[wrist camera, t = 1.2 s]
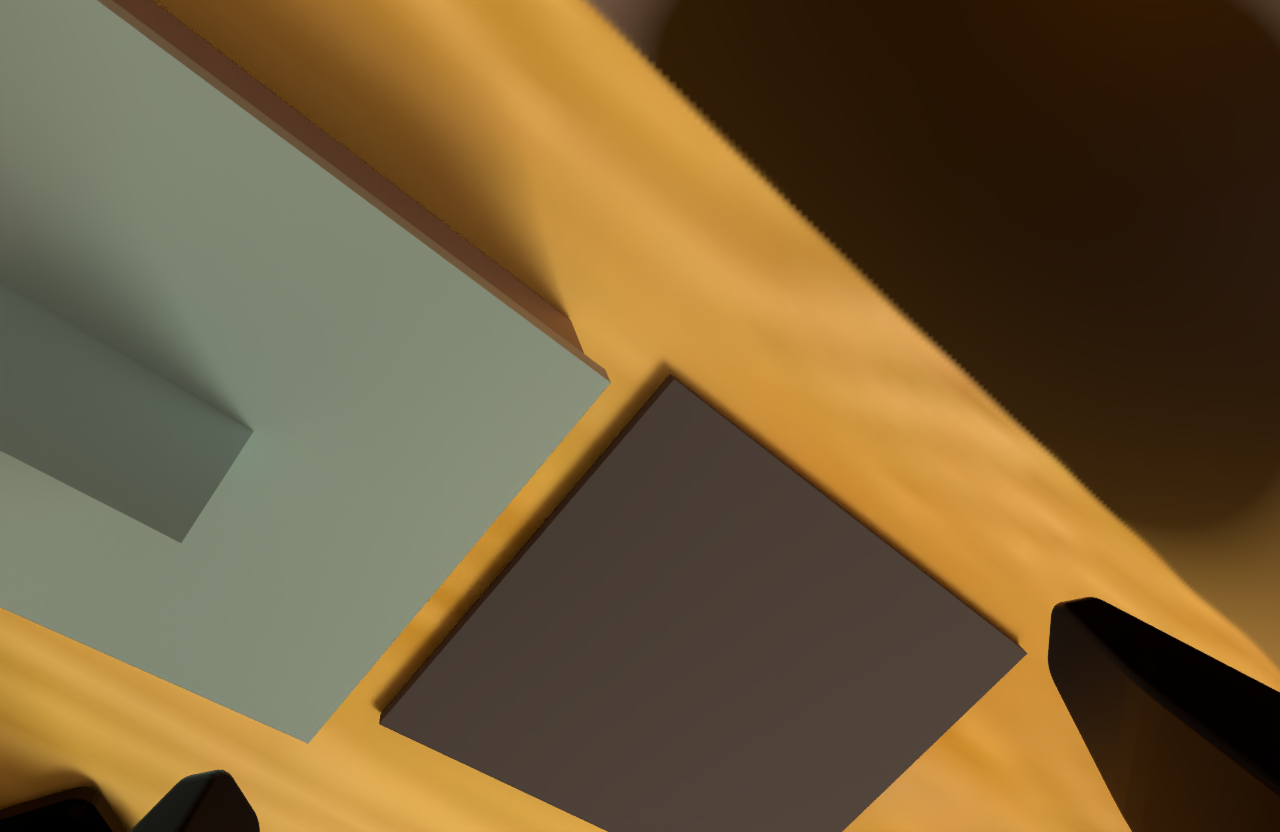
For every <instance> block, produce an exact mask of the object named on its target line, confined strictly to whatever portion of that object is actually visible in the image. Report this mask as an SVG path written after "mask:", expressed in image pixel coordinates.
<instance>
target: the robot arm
mask: <svg viewBox="0 0 1280 832" xmlns="http://www.w3.org/2000/svg"><path fill="white" fill-rule="evenodd" d="M1048 665H1049V669H1050V673H1051V676H1052V679H1053V681H1054V683H1055V685H1056V687H1057V689H1058V691H1059V693H1060V695H1061V697H1062V699H1063V701H1064V703H1065V705H1066V707H1067V709H1068V711H1069V713H1070V715H1071V717H1072V719H1073V721H1074V723H1075V724H1076V726H1077V728H1078V730H1079V732H1080V734H1081V736H1082V738H1083V740H1084V742H1085V744H1086V746H1087V748H1088V750H1089V752H1090V754H1091V756H1092V758H1093V760H1094V762H1095V764H1096V766H1097V768H1098V770H1099V772H1100V774H1101V776H1102V778H1103V780H1104V782H1105V783H1106V785H1107V787H1108V789H1109V791H1110V793H1111V795H1112V797H1113V799H1114V801H1115V803H1116V804H1117V806H1118V808H1119V810H1120V812H1121V814H1122V816H1123V817H1124V819H1125V821H1126V822H1127V824H1128V826H1129V827H1130V829H1131V831H1132V832H1280V692H1278V691H1276V690H1274V689H1272V688H1270V687H1268V686H1266V685H1264V684H1263V683H1261V682H1259V681H1257V680H1255V679H1253V678H1251V677H1249V676H1247V675H1245V674H1243V673H1241V672H1239V671H1238V670H1236V669H1234V668H1232V667H1230V666H1228V665H1226V664H1224V663H1222V662H1220V661H1218V660H1216V659H1214V658H1213V657H1211V656H1209V655H1207V654H1205V653H1203V652H1201V651H1199V650H1197V649H1195V648H1193V647H1191V646H1189V645H1188V644H1186V643H1184V642H1182V641H1180V640H1178V639H1176V638H1174V637H1172V636H1170V635H1168V634H1166V633H1165V632H1163V631H1161V630H1159V629H1157V628H1155V627H1153V626H1151V625H1149V624H1147V623H1145V622H1143V621H1141V620H1140V619H1138V618H1136V617H1134V616H1132V615H1130V614H1128V613H1126V612H1124V611H1122V610H1120V609H1118V608H1116V607H1115V606H1113V605H1111V604H1109V603H1107V602H1105V601H1103V600H1101V599H1098V598H1094V597H1085V598H1080V599H1075V600H1070V601H1065V602H1060V603H1058V604H1056V605H1055V606H1054V608H1053V610H1052V614H1051V624H1050V637H1049V649H1048ZM76 805H80V806H83V807H79V806H76ZM0 832H127V831H126V830H125V828H124V827H123V825H122V824H121V822H120V821H119V820H118V818H117V817H116V815H115V814H114V812H113V811H112V809H111V808H110V806H109V805H108V804H107V802H106V801H105V799H104V798H103V796H102V795H101V794H100V793H99V792H98V791H97V790H95V789H92V788H90V787H76V788H72V789H68V790H65V791H62V792H58V793H55V794H52V795H48V796H45V797H42V798H38V799H35V800H32V801H28V802H25V803H22V804H18V805H15V806H12V807H8V808H5V809H2V810H0ZM130 832H260V828H259V822H258V819H257V816H256V814H255V812H254V810H253V809H252V807H251V805H250V804H249V802H248V801H247V799H246V798H245V796H244V794H243V793H242V791H241V790H240V788H239V787H238V785H237V783H236V782H235V780H234V779H233V777H232V776H231V775H230V774H229V773H228V772H226V771H224V770H214V771H209V772H204V773H199V774H194V775H190V776H187V777H185V778H183V779H182V780H181V781H179V782H178V783H177V784H176V785H175V786H174V787H173V788H172V789H171V790H170V791H169V792H168V793H167V794H166V795H165V796H164V797H163V798H162V799H161V800H160V801H159V802H158V803H157V804H156V805H155V806H154V807H153V808H152V809H151V810H150V811H149V812H148V813H147V814H146V815H145V816H144V817H143V818H142V819H141V820H140V821H139V823H138V824H137V825H136V826H135V827H134V828H133V829H132V830H131V831H130Z"/></svg>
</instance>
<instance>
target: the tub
mask: <svg viewBox="0 0 1280 832" xmlns="http://www.w3.org/2000/svg"><path fill="white" fill-rule="evenodd" d="M113 1H114V2H115V3H117V4H118V5H119V6H121V7H122V8H123V9H125V10H126V11H127V12H129V13H130V14H131V15H133V16H134V17H135V18H137V19H138V20H139V21H141V22H142V23H143V24H145V25H146V26H147V27H149V28H150V29H151V30H153V31H154V32H155V33H157V34H158V35H159V36H161V37H162V38H163V39H165V40H166V41H167V42H169V43H170V44H171V45H173V46H174V47H175V48H177V49H178V50H179V51H181V52H182V53H183V54H185V55H186V56H187V57H189V58H190V59H191V60H193V61H194V62H195V63H197V64H198V65H199V66H201V67H202V68H203V69H205V70H206V71H207V72H209V73H210V74H211V75H213V76H214V77H215V78H217V79H218V80H219V81H221V82H222V83H223V84H225V85H226V86H227V87H229V88H230V89H231V90H233V91H234V92H235V93H237V94H238V95H239V96H241V97H242V98H243V99H245V100H246V101H247V102H249V103H250V104H251V105H253V106H254V107H255V108H257V109H258V110H259V111H261V112H262V113H263V114H265V115H266V116H267V117H269V118H270V119H271V120H273V121H274V122H275V123H277V124H278V125H279V126H281V127H282V128H283V129H285V130H286V131H287V132H289V133H290V134H291V135H293V136H294V137H295V138H297V139H298V140H299V141H301V142H302V143H303V144H305V145H306V146H307V147H309V148H310V149H311V150H313V151H314V152H315V153H317V154H318V155H319V156H321V157H322V158H323V159H325V160H326V161H327V162H329V163H330V164H331V165H333V166H334V167H335V168H337V169H338V170H339V171H341V172H342V173H343V174H345V175H346V176H347V177H349V178H350V179H351V180H353V181H354V182H355V183H357V184H358V185H359V186H361V187H362V188H363V189H365V190H366V191H367V192H369V193H370V194H371V195H373V196H374V197H375V198H377V199H378V200H379V201H381V202H382V203H383V204H385V205H386V206H387V207H389V208H390V209H391V210H393V211H394V212H395V213H397V214H398V215H399V216H401V217H402V218H403V219H405V220H406V221H407V222H409V223H410V224H411V225H413V226H414V227H415V228H417V229H418V230H419V231H421V232H422V233H423V234H425V235H426V236H427V237H429V238H430V239H431V240H433V241H434V242H435V243H437V244H438V245H439V246H441V247H442V248H443V249H445V250H446V251H447V252H449V253H450V254H451V255H453V256H454V257H455V258H457V259H458V260H459V261H461V262H462V263H463V264H465V265H466V266H467V267H469V268H470V269H471V270H473V271H474V272H475V273H477V274H478V275H479V276H481V277H482V278H483V279H485V280H486V281H487V282H489V283H490V284H491V285H493V286H494V287H495V288H497V289H498V290H499V291H501V292H502V293H503V294H505V295H506V296H507V297H509V298H510V299H511V300H513V301H514V302H515V303H517V304H518V305H519V306H521V307H522V308H523V309H525V310H526V311H527V312H529V313H530V314H531V315H533V316H534V317H535V318H537V319H538V320H539V321H541V322H542V323H543V324H545V325H546V326H547V327H549V328H550V329H551V330H553V331H554V332H555V333H557V334H558V335H560V336H561V337H562V338H564V339H565V340H566V341H568V342H569V343H570V344H572V345H573V346H574V347H576V348H577V349H578V350H580V351H581V352H582V353H584V352H583V350H582V347H581V345H580V342H579V340H578V337H577V335H576V332H575V330H574V327H573V325H572V322H571V320H570V319H569V318H568V317H566V316H565V315H564V314H562V313H561V312H560V311H558V310H557V309H556V308H555V307H553V306H552V305H551V304H549V303H548V302H547V301H545V300H544V299H543V298H541V297H540V296H539V295H538V294H536V293H535V292H534V291H532V290H531V289H530V288H528V287H527V286H526V285H524V284H523V283H522V282H520V281H519V280H518V279H517V278H515V277H514V276H513V275H511V274H510V273H509V272H507V271H506V270H505V269H503V268H502V267H501V266H500V265H498V264H497V263H496V262H494V261H493V260H492V259H490V258H489V257H488V256H486V255H485V254H484V253H483V252H481V251H480V250H479V249H477V248H476V247H475V246H473V245H472V244H471V243H469V242H468V241H467V240H466V239H464V238H463V237H462V236H460V235H459V234H458V233H456V232H455V231H454V230H452V229H451V228H450V227H448V226H447V225H446V224H445V223H443V222H442V221H441V220H439V219H438V218H437V217H435V216H434V215H433V214H431V213H430V212H429V211H428V210H426V209H425V208H424V207H422V206H421V205H420V204H418V203H417V202H416V201H414V200H413V199H412V198H411V197H409V196H408V195H407V194H405V193H404V192H403V191H401V190H400V189H399V188H397V187H396V186H395V185H393V184H392V183H391V182H390V181H388V180H387V179H386V178H384V177H383V176H382V175H380V174H379V173H378V172H376V171H375V170H374V169H373V168H371V167H370V166H369V165H367V164H366V163H365V162H363V161H362V160H361V159H359V158H358V157H357V156H356V155H354V154H353V153H352V152H350V151H349V150H348V149H346V148H345V147H344V146H342V145H341V144H340V143H338V142H337V141H336V140H335V139H333V138H332V137H331V136H329V135H328V134H327V133H325V132H324V131H323V130H321V129H320V128H319V127H318V126H316V125H315V124H314V123H312V122H311V121H310V120H308V119H307V118H306V117H304V116H303V115H302V114H301V113H299V112H298V111H297V110H295V109H294V108H293V107H291V106H290V105H289V104H287V103H286V102H285V101H284V100H282V99H281V98H280V97H278V96H277V95H276V94H274V93H273V92H272V91H270V90H269V89H268V88H266V87H265V86H264V85H263V84H261V83H260V82H259V81H257V80H256V79H255V78H253V77H252V76H251V75H249V74H248V73H247V72H246V71H244V70H243V69H242V68H240V67H239V66H238V65H236V64H235V63H234V62H232V61H231V60H230V59H229V58H227V57H226V56H225V55H223V54H222V53H221V52H219V51H218V50H217V49H215V48H214V47H213V46H211V45H210V44H209V43H208V42H206V41H205V40H204V39H202V38H201V37H200V36H198V35H197V34H196V33H194V32H193V31H192V30H191V29H189V28H188V27H187V26H185V25H184V24H183V23H181V22H180V21H179V20H177V19H176V18H175V17H174V16H172V15H171V14H170V13H168V12H167V11H166V10H164V9H163V8H162V7H160V6H159V5H158V4H157V3H155V2H154V1H153V0H113Z"/></svg>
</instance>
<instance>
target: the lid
mask: <svg viewBox="0 0 1280 832" xmlns="http://www.w3.org/2000/svg"><path fill="white" fill-rule="evenodd" d="M610 383H611V382H610V380H609V378H608V375H607V373H606V371H605V369H604V368H602V367H601V366H600V365H598V364H597V363H596V362H594V361H593V360H592V359H590V358H589V357H588V356H586V355H585V354H584V353H582V352H581V351H580V350H578V349H577V348H576V347H574V346H573V345H572V344H570V343H569V342H568V341H566V340H565V339H564V338H562V337H561V336H560V335H558V334H557V333H555V332H554V331H553V330H551V329H550V328H549V327H547V326H546V325H545V324H543V323H542V322H541V321H539V320H538V319H537V318H535V317H534V316H533V315H531V314H530V313H529V312H527V311H526V310H525V309H523V308H522V307H521V306H519V305H518V304H517V303H515V302H514V301H513V300H511V299H510V298H509V297H507V296H506V295H505V294H503V293H502V292H501V291H499V290H498V289H497V288H495V287H494V286H493V285H491V284H490V283H489V282H487V281H486V280H485V279H483V278H482V277H481V276H479V275H478V274H477V273H475V272H474V271H473V270H471V269H470V268H469V267H467V266H466V265H465V264H463V263H462V262H461V261H459V260H458V259H457V258H455V257H454V256H453V255H451V254H450V253H449V252H447V251H446V250H445V249H443V248H442V247H441V246H439V245H438V244H437V243H435V242H434V241H433V240H431V239H430V238H429V237H427V236H426V235H425V234H423V233H422V232H421V231H419V230H418V229H417V228H415V227H414V226H413V225H411V224H410V223H409V222H407V221H406V220H405V219H403V218H402V217H401V216H399V215H398V214H397V213H395V212H394V211H393V210H391V209H390V208H389V207H387V206H386V205H385V204H383V203H382V202H381V201H379V200H378V199H377V198H375V197H374V196H373V195H371V194H370V193H369V192H367V191H366V190H365V189H363V188H362V187H361V186H359V185H358V184H357V183H355V182H354V181H353V180H351V179H350V178H349V177H347V176H346V175H345V174H343V173H342V172H341V171H339V170H338V169H337V168H335V167H334V166H333V165H331V164H330V163H329V162H327V161H326V160H325V159H323V158H322V157H321V156H319V155H318V154H317V153H315V152H314V151H313V150H311V149H310V148H309V147H307V146H306V145H305V144H303V143H302V142H301V141H299V140H298V139H297V138H295V137H294V136H293V135H291V134H290V133H289V132H287V131H286V130H285V129H283V128H282V127H281V126H279V125H278V124H277V123H275V122H274V121H273V120H271V119H270V118H269V117H267V116H266V115H265V114H263V113H262V112H261V111H259V110H258V109H257V108H255V107H254V106H253V105H251V104H250V103H249V102H247V101H246V100H245V99H243V98H242V97H241V96H239V95H238V94H237V93H235V92H234V91H233V90H231V89H230V88H229V87H227V86H226V85H225V84H223V83H222V82H221V81H219V80H218V79H217V78H215V77H214V76H213V75H211V74H210V73H209V72H207V71H206V70H205V69H203V68H202V67H201V66H199V65H198V64H197V63H195V62H194V61H193V60H191V59H190V58H189V57H187V56H186V55H185V54H183V53H182V52H181V51H179V50H178V49H177V48H175V47H174V46H173V45H171V44H170V43H169V42H167V41H166V40H165V39H163V38H162V37H161V36H159V35H158V34H157V33H155V32H154V31H153V30H151V29H150V28H149V27H147V26H146V25H145V24H143V23H142V22H141V21H139V20H138V19H137V18H135V17H134V16H133V15H131V14H130V13H129V12H127V11H126V10H125V9H123V8H122V7H121V6H119V5H118V4H117V3H115V2H114V1H113V0H0V607H1V608H3V609H5V610H8V611H10V612H12V613H14V614H17V615H19V616H21V617H23V618H26V619H28V620H30V621H32V622H35V623H37V624H39V625H41V626H44V627H46V628H48V629H51V630H53V631H55V632H57V633H60V634H62V635H64V636H66V637H69V638H71V639H73V640H75V641H78V642H80V643H82V644H84V645H87V646H89V647H91V648H93V649H96V650H98V651H100V652H102V653H105V654H107V655H109V656H112V657H114V658H116V659H118V660H121V661H123V662H125V663H127V664H130V665H132V666H134V667H136V668H139V669H141V670H143V671H145V672H148V673H150V674H152V675H154V676H157V677H159V678H161V679H163V680H166V681H168V682H170V683H173V684H175V685H177V686H179V687H182V688H184V689H186V690H188V691H191V692H193V693H195V694H197V695H200V696H202V697H204V698H206V699H209V700H211V701H213V702H215V703H218V704H220V705H222V706H224V707H227V708H229V709H231V710H234V711H236V712H238V713H240V714H243V715H245V716H247V717H249V718H252V719H254V720H256V721H258V722H261V723H263V724H265V725H267V726H270V727H272V728H274V729H276V730H279V731H281V732H283V733H285V734H288V735H290V736H292V737H295V738H297V739H299V740H301V741H304V742H306V743H309V742H310V741H311V739H312V738H313V737H314V736H315V735H316V734H317V732H318V731H319V730H320V729H321V728H322V726H323V725H324V724H325V723H326V722H327V720H328V719H329V718H330V717H331V716H332V714H333V713H334V712H335V711H336V710H337V708H338V707H339V706H340V705H341V704H342V703H343V701H344V700H345V699H346V698H347V697H348V695H349V694H350V693H351V692H352V691H353V689H354V688H355V687H356V686H357V685H358V683H359V682H360V681H361V680H362V679H363V677H364V676H365V675H366V674H367V673H368V672H369V670H370V669H371V668H372V667H373V666H374V664H375V663H376V662H377V661H378V660H379V658H380V657H381V656H382V655H383V654H384V652H385V651H386V650H387V649H388V648H389V646H390V645H391V644H392V643H393V642H394V640H395V639H396V638H397V637H398V636H399V635H400V633H401V632H402V631H403V630H404V629H405V627H406V626H407V625H408V624H409V623H410V621H411V620H412V619H413V618H414V617H415V615H416V614H417V613H418V612H419V611H420V609H421V608H422V607H423V606H424V605H425V604H426V602H427V601H428V600H429V599H430V598H431V596H432V595H433V594H434V593H435V592H436V590H437V589H438V588H439V587H440V586H441V584H442V583H443V582H444V581H445V580H446V578H447V577H448V576H449V575H450V574H451V573H452V571H453V570H454V569H455V568H456V567H457V565H458V564H459V563H460V562H461V561H462V559H463V558H464V557H465V556H466V555H467V553H468V552H469V551H470V550H471V549H472V547H473V546H474V545H475V544H476V543H477V541H478V540H479V539H480V538H481V537H482V536H483V534H484V533H485V532H486V531H487V530H488V528H489V527H490V526H491V525H492V524H493V522H494V521H495V520H496V519H497V518H498V516H499V515H500V514H501V513H502V512H503V510H504V509H505V508H506V507H507V506H508V505H509V503H510V502H511V501H512V500H513V499H514V497H515V496H516V495H517V494H518V493H519V491H520V490H521V489H522V488H523V487H524V485H525V484H526V483H527V482H528V481H529V479H530V478H531V477H532V476H533V475H534V474H535V472H536V471H537V470H538V469H539V468H540V466H541V465H542V464H543V463H544V462H545V460H546V459H547V458H548V457H549V456H550V454H551V453H552V452H553V451H554V450H555V448H556V447H557V446H558V445H559V444H560V442H561V441H562V440H563V439H564V438H565V437H566V435H567V434H568V433H569V432H570V431H571V429H572V428H573V427H574V426H575V425H576V423H577V422H578V421H579V420H580V419H581V417H582V416H583V415H584V414H585V413H586V411H587V410H588V409H589V408H590V407H591V406H592V404H593V403H594V402H595V401H596V400H597V398H598V397H599V396H600V395H601V394H602V392H603V391H604V390H605V389H606V388H607V386H608V385H609V384H610Z"/></svg>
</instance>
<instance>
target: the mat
mask: <svg viewBox="0 0 1280 832" xmlns="http://www.w3.org/2000/svg"><path fill="white" fill-rule="evenodd" d="M1026 654H1027V653H1026V652H1025V651H1024V650H1023V649H1022V648H1021V646H1019V645H1018V644H1017V643H1016V642H1014V641H1013V640H1012V639H1010V638H1009V637H1008V636H1007V635H1005V634H1004V633H1003V632H1001V631H1000V630H999V629H998V628H996V627H995V626H994V625H992V624H991V623H990V622H989V621H987V620H986V619H985V618H983V617H982V616H981V615H980V614H978V613H977V612H976V611H974V610H973V609H972V608H971V607H969V606H968V605H967V604H965V603H964V602H963V601H962V600H960V599H959V598H958V597H956V596H955V595H954V594H953V593H951V592H950V591H949V590H947V589H946V588H945V587H944V586H942V585H941V584H940V583H938V582H937V581H936V580H935V579H933V578H932V577H931V576H929V575H928V574H927V573H926V572H924V571H923V570H922V569H920V568H919V567H918V566H917V565H915V564H914V563H913V562H911V561H910V560H909V559H908V558H906V557H905V556H904V555H902V554H901V553H900V552H899V551H897V550H896V549H895V548H893V547H892V546H891V545H890V544H888V543H887V542H886V541H884V540H883V539H882V538H881V537H879V536H878V535H877V534H875V533H874V532H873V531H872V530H870V529H869V528H868V527H866V526H865V525H864V524H863V523H861V522H860V521H859V520H857V519H856V518H855V517H854V516H852V515H851V514H850V513H848V512H847V511H846V510H845V509H843V508H842V507H841V506H839V505H838V504H837V503H836V502H834V501H833V500H832V499H830V498H829V497H828V496H827V495H825V494H824V493H823V492H821V491H820V490H819V489H818V488H816V487H815V486H814V485H812V484H811V483H810V482H809V481H807V480H806V479H805V478H803V477H802V476H801V475H800V474H798V473H797V472H796V471H794V470H793V469H792V468H791V467H789V466H788V465H787V464H785V463H784V462H783V461H782V460H780V459H779V458H778V457H776V456H775V455H774V454H773V453H771V452H770V451H769V450H767V449H766V448H765V447H764V446H762V445H761V444H760V443H758V442H757V441H756V440H755V439H753V438H752V437H751V436H749V435H748V434H747V433H746V432H744V431H743V430H742V429H740V428H739V427H738V426H736V425H735V424H734V423H733V422H731V421H730V420H729V419H727V418H726V417H725V416H724V415H722V414H721V413H720V412H718V411H717V410H716V409H715V408H713V407H712V406H711V405H709V404H708V403H707V402H706V401H704V400H703V399H702V398H700V397H699V396H698V395H697V394H695V393H694V392H693V391H691V390H690V389H689V388H688V387H686V386H685V385H684V384H682V383H681V382H680V381H679V380H677V379H676V378H675V377H673V376H672V375H670V376H669V377H668V378H667V379H666V381H665V382H664V383H663V384H662V385H661V386H660V388H659V389H658V390H657V391H656V392H655V393H654V395H653V396H652V397H651V398H650V399H649V400H648V402H647V403H646V404H645V405H644V406H643V407H642V409H641V410H640V411H639V412H638V413H637V414H636V416H635V417H634V418H633V419H632V420H631V422H630V423H629V424H628V425H627V426H626V427H625V429H624V430H623V431H622V432H621V433H620V434H619V436H618V437H617V438H616V439H615V440H614V441H613V443H612V444H611V445H610V446H609V447H608V448H607V450H606V451H605V452H604V453H603V454H602V455H601V457H600V458H599V459H598V460H597V461H596V463H595V464H594V465H593V466H592V467H591V468H590V470H589V471H588V472H587V473H586V474H585V475H584V477H583V478H582V479H581V480H580V481H579V482H578V484H577V485H576V486H575V487H574V488H573V489H572V491H571V492H570V493H569V494H568V495H567V496H566V498H565V499H564V500H563V501H562V502H561V504H560V505H559V506H558V507H557V508H556V509H555V511H554V512H553V513H552V514H551V515H550V516H549V518H548V519H547V520H546V521H545V522H544V523H543V525H542V526H541V527H540V528H539V529H538V530H537V532H536V533H535V534H534V535H533V536H532V537H531V539H530V540H529V541H528V542H527V543H526V545H525V546H524V547H523V548H522V549H521V550H520V552H519V553H518V554H517V555H516V556H515V557H514V559H513V560H512V561H511V562H510V563H509V564H508V566H507V567H506V568H505V569H504V570H503V571H502V573H501V574H500V575H499V576H498V577H497V578H496V580H495V581H494V582H493V583H492V584H491V586H490V587H489V588H488V589H487V590H486V591H485V593H484V594H483V595H482V596H481V597H480V598H479V600H478V601H477V602H476V603H475V604H474V605H473V607H472V608H471V609H470V610H469V611H468V612H467V614H466V615H465V616H464V617H463V618H462V619H461V621H460V622H459V623H458V624H457V625H456V627H455V628H454V629H453V630H452V631H451V632H450V634H449V635H448V636H447V637H446V638H445V639H444V641H443V642H442V643H441V644H440V645H439V646H438V648H437V649H436V650H435V651H434V652H433V653H432V655H431V656H430V657H429V658H428V659H427V660H426V662H425V663H424V664H423V665H422V666H421V668H420V669H419V670H418V671H417V672H416V673H415V675H414V676H413V677H412V678H411V679H410V680H409V682H408V683H407V684H406V685H405V686H404V687H403V689H402V690H401V691H400V692H399V693H398V694H397V696H396V697H395V698H394V699H393V700H392V701H391V703H390V704H389V705H388V706H387V707H386V709H385V710H384V711H383V712H382V713H381V715H380V722H379V724H380V725H382V726H384V727H387V728H389V729H391V730H393V731H395V732H397V733H399V734H401V735H404V736H406V737H408V738H410V739H412V740H414V741H416V742H418V743H421V744H423V745H425V746H427V747H429V748H431V749H433V750H435V751H438V752H440V753H442V754H444V755H446V756H448V757H450V758H452V759H455V760H457V761H459V762H461V763H463V764H465V765H467V766H470V767H472V768H474V769H476V770H478V771H480V772H482V773H484V774H487V775H489V776H491V777H493V778H495V779H497V780H499V781H501V782H504V783H506V784H508V785H510V786H512V787H514V788H516V789H518V790H521V791H523V792H525V793H527V794H529V795H531V796H533V797H535V798H538V799H540V800H542V801H544V802H546V803H548V804H550V805H553V806H555V807H557V808H559V809H561V810H563V811H565V812H567V813H570V814H572V815H574V816H576V817H578V818H580V819H582V820H584V821H587V822H589V823H591V824H593V825H595V826H597V827H599V828H601V829H604V830H606V831H608V832H842V831H843V830H844V829H845V828H846V827H847V826H849V825H850V824H851V823H852V822H853V821H854V820H855V819H856V818H857V817H858V816H859V815H860V814H861V813H862V812H863V811H864V810H865V809H866V808H867V807H868V806H869V805H870V804H871V803H872V802H873V801H875V800H876V799H877V798H878V797H879V796H880V795H881V794H882V793H883V792H884V791H885V790H886V789H887V788H888V787H889V786H890V785H891V784H892V783H893V782H894V781H895V780H896V779H897V778H898V777H899V776H901V775H902V774H903V773H904V772H905V771H906V770H907V769H908V768H909V767H910V766H911V765H912V764H913V763H914V762H915V761H916V760H917V759H918V758H919V757H920V756H921V755H922V754H923V753H924V752H925V751H926V750H928V749H929V748H930V747H931V746H932V745H933V744H934V743H935V742H936V741H937V740H938V739H939V738H940V737H941V736H942V735H943V734H944V733H945V732H946V731H947V730H948V729H949V728H950V727H951V726H952V725H954V724H955V723H956V722H957V721H958V720H959V719H960V718H961V717H962V716H963V715H964V714H965V713H966V712H967V711H968V710H969V709H970V708H971V707H972V706H973V705H974V704H975V703H976V702H977V701H978V700H980V699H981V698H982V697H983V696H984V695H985V694H986V693H987V692H988V691H989V690H990V689H991V688H992V687H993V686H994V685H995V684H996V683H997V682H998V681H999V680H1000V679H1001V678H1002V677H1003V676H1004V675H1006V674H1007V673H1008V672H1009V671H1010V670H1011V669H1012V668H1013V667H1014V666H1015V665H1016V664H1017V663H1018V662H1019V661H1020V660H1021V659H1022V658H1023V657H1024V656H1025V655H1026Z"/></svg>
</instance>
